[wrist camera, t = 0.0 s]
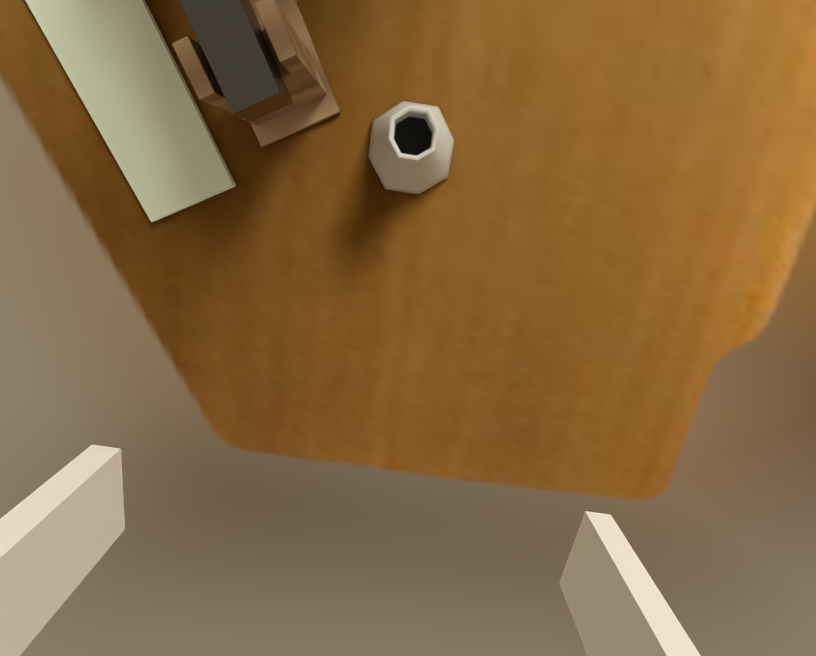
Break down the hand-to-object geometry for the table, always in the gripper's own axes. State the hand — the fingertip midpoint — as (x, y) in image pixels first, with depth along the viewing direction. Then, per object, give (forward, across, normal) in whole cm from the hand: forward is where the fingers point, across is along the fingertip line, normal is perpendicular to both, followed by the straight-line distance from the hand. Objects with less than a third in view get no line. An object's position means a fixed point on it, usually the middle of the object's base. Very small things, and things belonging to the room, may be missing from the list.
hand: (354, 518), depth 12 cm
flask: (+28, 0, +12) cm, 31 cm away
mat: (+28, -24, +16) cm, 40 cm away
